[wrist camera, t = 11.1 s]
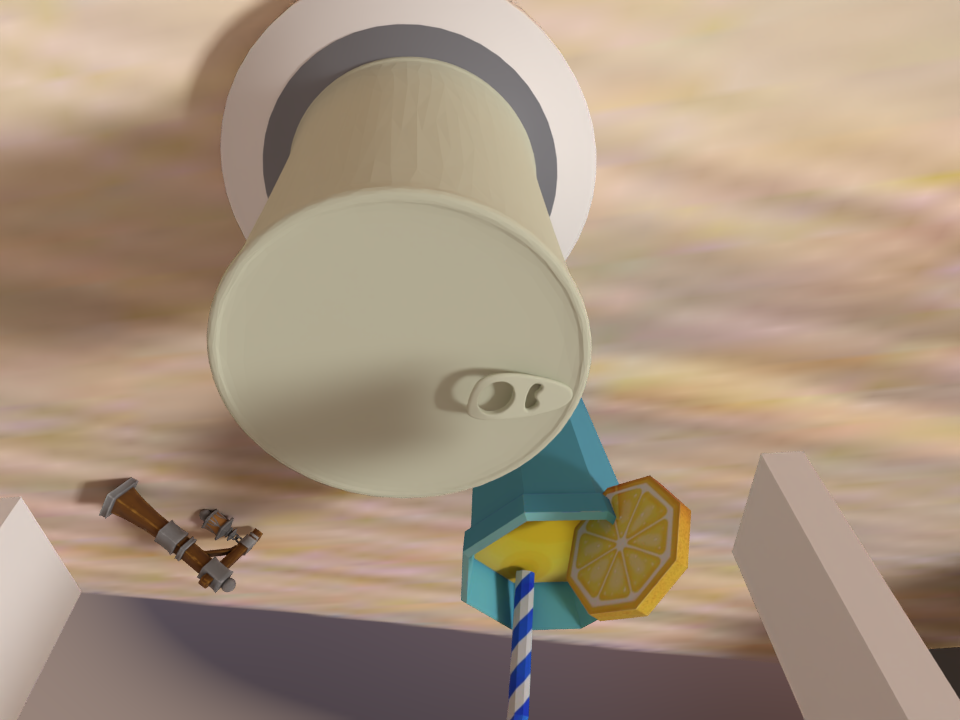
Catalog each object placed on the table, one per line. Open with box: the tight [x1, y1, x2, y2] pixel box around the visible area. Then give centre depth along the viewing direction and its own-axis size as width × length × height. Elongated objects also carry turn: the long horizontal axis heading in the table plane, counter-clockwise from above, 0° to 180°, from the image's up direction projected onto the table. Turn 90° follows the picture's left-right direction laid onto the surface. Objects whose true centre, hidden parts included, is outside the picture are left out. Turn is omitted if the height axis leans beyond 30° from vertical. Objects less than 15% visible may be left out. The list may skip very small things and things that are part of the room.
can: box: [207, 57, 591, 498], centre depth 20 cm, size 9×9×12 cm
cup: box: [461, 398, 691, 720], centre depth 28 cm, size 14×8×15 cm, turn 155°
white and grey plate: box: [220, 0, 596, 260], centre depth 26 cm, size 14×14×2 cm
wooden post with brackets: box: [99, 477, 262, 593], centre depth 36 cm, size 2×8×4 cm, turn 59°
